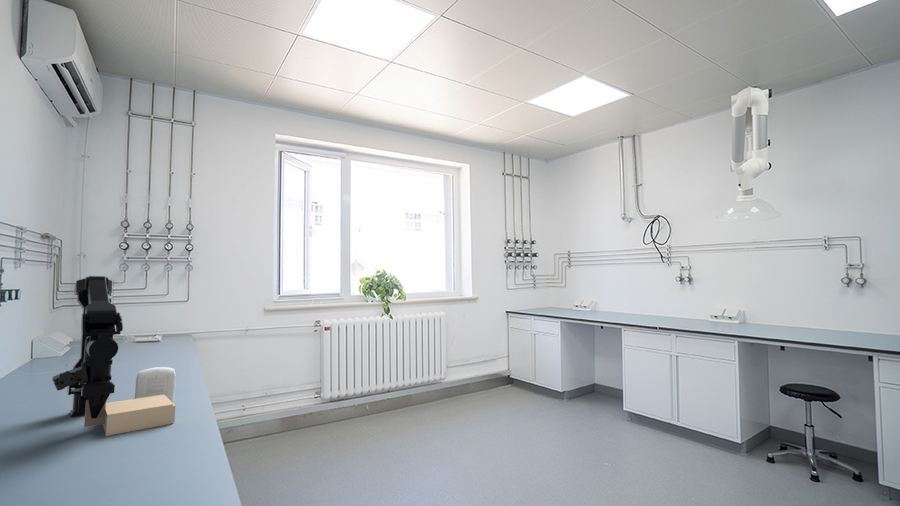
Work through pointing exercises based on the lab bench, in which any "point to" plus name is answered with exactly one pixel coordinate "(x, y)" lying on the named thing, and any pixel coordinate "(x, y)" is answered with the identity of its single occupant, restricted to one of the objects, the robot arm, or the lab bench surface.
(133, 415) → the sleeve
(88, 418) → the tray
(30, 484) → the lab bench surface
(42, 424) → the lab bench surface
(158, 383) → the white product package
